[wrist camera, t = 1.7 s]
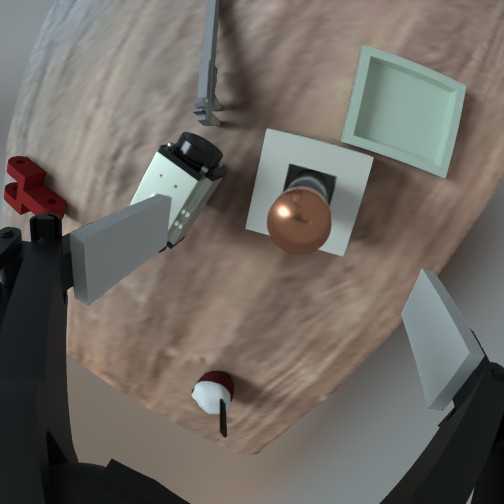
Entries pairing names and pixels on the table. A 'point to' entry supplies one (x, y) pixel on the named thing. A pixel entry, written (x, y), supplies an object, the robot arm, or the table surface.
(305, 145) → the block
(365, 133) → the tray
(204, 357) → the table surface
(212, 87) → the caliper
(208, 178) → the pneumatic valve
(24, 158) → the mechanical linkage
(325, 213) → the pin
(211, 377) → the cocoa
